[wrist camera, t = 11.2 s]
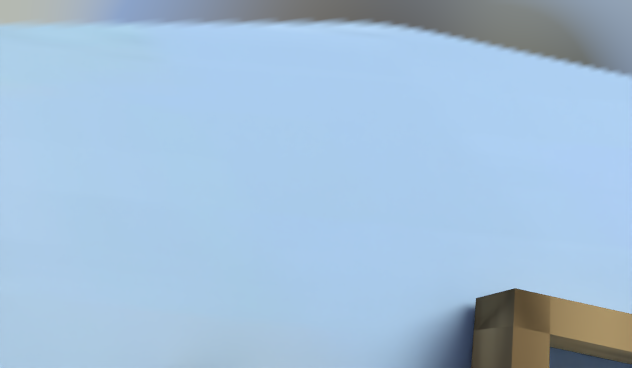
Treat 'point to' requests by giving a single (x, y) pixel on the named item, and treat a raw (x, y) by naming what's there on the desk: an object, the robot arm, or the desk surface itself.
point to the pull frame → (545, 330)
